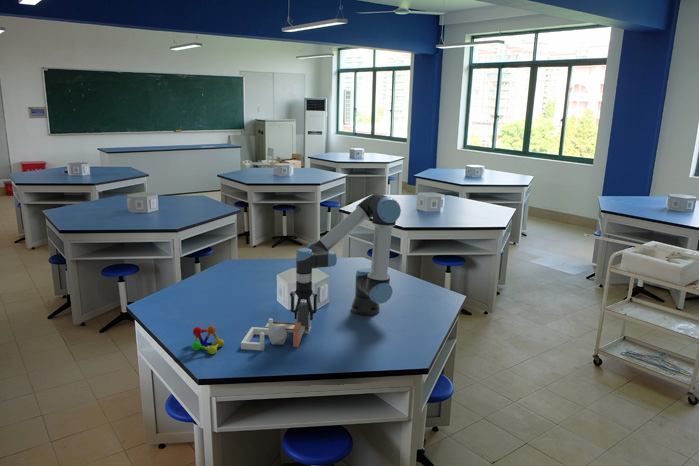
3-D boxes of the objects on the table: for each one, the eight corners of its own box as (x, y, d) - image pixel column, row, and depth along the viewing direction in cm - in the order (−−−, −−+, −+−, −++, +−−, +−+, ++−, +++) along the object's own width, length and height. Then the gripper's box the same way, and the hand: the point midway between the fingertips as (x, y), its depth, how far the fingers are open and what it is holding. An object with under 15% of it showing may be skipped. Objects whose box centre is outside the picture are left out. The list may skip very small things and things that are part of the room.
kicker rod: (309, 327, 255) (309, 302, 252) (300, 347, 234) (301, 320, 231) (299, 326, 256) (299, 301, 253) (290, 346, 235) (290, 320, 231)
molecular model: (221, 348, 239) (191, 334, 237) (230, 331, 237) (200, 317, 235) (213, 364, 224) (181, 349, 223) (222, 346, 222) (190, 331, 221)
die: (279, 350, 233) (291, 331, 234) (262, 339, 233) (275, 321, 234) (281, 348, 241) (293, 330, 242) (265, 338, 242) (277, 320, 243)
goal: (273, 334, 248) (273, 318, 246) (263, 350, 231) (263, 334, 229) (252, 332, 249) (251, 317, 247) (240, 349, 232) (240, 332, 230)
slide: (311, 326, 257) (311, 323, 256) (308, 333, 249) (308, 330, 249) (268, 323, 259) (268, 320, 259) (264, 330, 251) (263, 327, 251)
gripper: (323, 279, 250) (323, 323, 255) (287, 276, 251) (287, 321, 257) (321, 284, 243) (320, 330, 248) (283, 282, 244) (283, 327, 250)
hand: (303, 325), depth 253 cm, fingers closed on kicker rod, 5 cm apart
